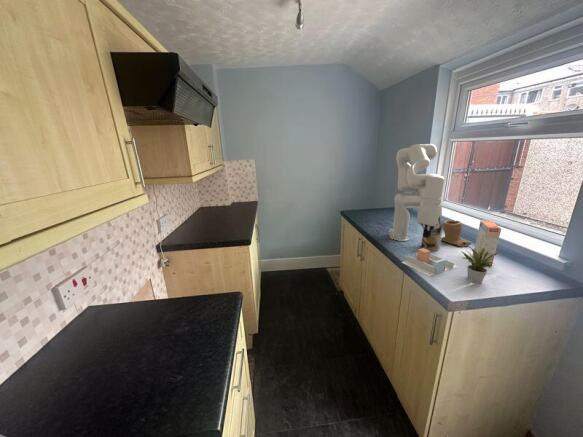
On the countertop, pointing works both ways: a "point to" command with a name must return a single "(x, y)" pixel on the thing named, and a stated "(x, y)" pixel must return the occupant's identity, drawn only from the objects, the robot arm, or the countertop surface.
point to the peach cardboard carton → (423, 255)
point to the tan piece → (454, 233)
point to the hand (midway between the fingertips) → (426, 236)
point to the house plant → (478, 265)
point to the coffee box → (433, 239)
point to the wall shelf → (430, 264)
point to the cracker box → (487, 239)
